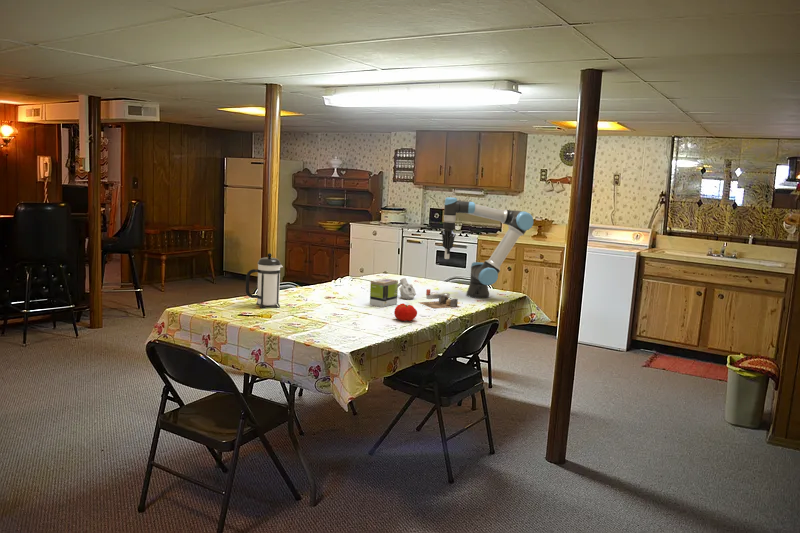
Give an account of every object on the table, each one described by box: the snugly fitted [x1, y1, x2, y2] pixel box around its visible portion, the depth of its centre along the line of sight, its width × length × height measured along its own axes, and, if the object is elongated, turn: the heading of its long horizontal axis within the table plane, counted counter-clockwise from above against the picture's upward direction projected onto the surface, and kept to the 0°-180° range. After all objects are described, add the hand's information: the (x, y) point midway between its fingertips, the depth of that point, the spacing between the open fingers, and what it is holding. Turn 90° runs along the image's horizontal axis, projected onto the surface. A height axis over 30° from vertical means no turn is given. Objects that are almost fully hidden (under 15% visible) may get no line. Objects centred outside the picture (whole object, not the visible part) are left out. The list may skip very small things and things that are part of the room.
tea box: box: [369, 278, 399, 308], centre depth 377 cm, size 15×10×15 cm, turn 145°
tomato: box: [393, 303, 418, 322], centre depth 339 cm, size 13×12×8 cm
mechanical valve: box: [398, 277, 417, 300], centre depth 405 cm, size 10×18×15 cm
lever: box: [425, 288, 451, 304], centre depth 381 cm, size 17×5×8 cm, turn 123°
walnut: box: [446, 298, 451, 306], centre depth 379 cm, size 4×4×4 cm
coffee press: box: [245, 252, 284, 309], centre depth 351 cm, size 17×16×30 cm
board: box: [417, 298, 461, 310], centre depth 381 cm, size 20×18×6 cm
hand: (446, 258), depth 401 cm, fingers closed
